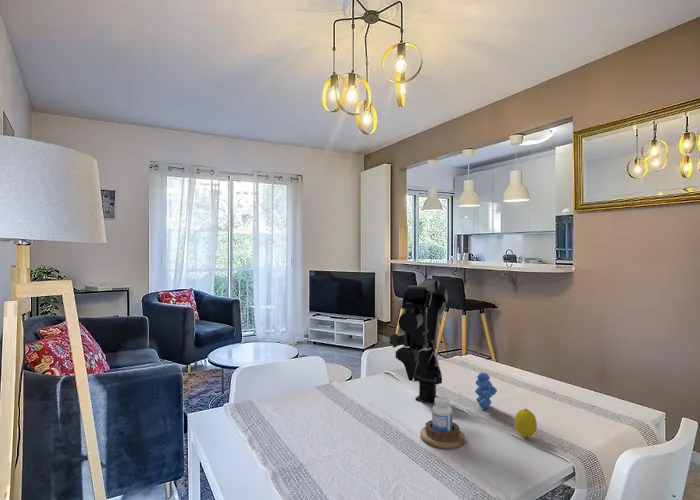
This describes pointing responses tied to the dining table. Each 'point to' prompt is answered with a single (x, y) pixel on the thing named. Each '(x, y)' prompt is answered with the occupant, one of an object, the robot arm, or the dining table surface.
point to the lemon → (525, 422)
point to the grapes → (484, 390)
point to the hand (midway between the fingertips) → (416, 376)
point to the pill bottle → (442, 415)
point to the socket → (442, 437)
